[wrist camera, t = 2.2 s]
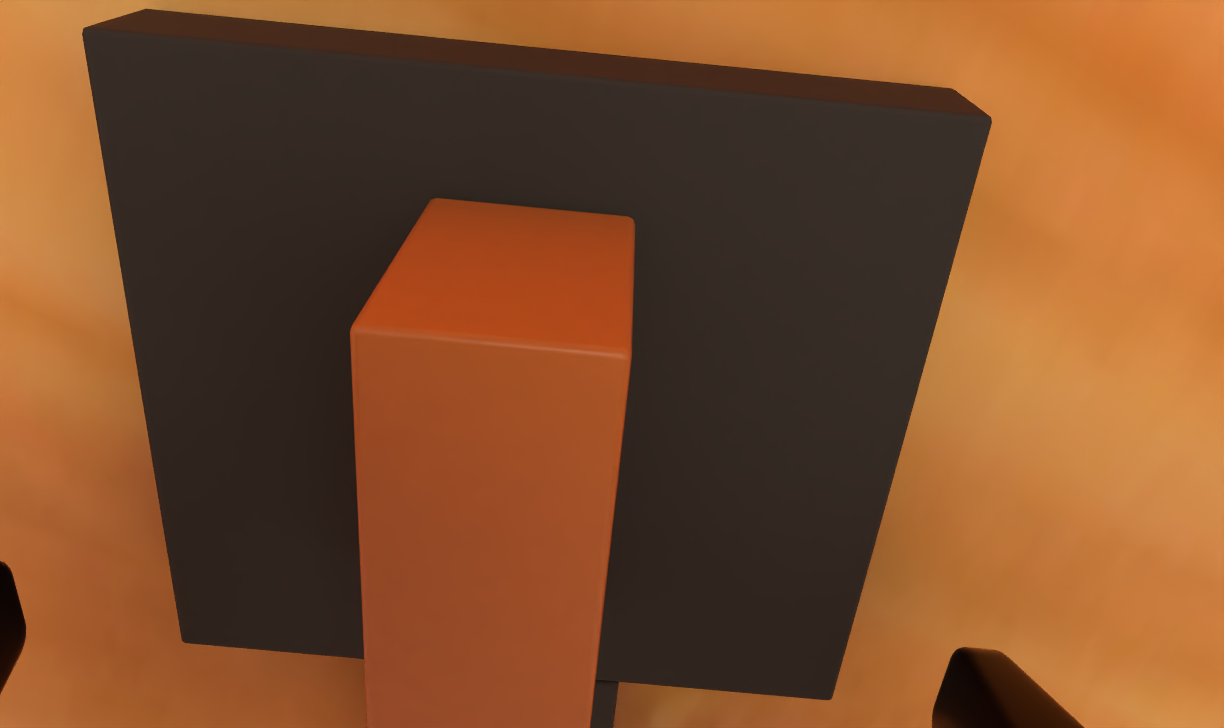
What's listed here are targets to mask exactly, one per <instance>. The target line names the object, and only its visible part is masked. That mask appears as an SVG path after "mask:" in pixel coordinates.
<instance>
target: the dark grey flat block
mask: <svg viewBox="0 0 1224 728" xmlns="http://www.w3.org/2000/svg"><path fill="white" fill-rule="evenodd" d="M82 35H83V41H84V47H85V53H86V60H87V66H88V72H89V78H90V84H91V90H92V96H93V102H94V108H95V114H96V120H97V127H98V133H99V139H100V145H101V151H102V157H103V163H104V169H105V175H106V181H107V187H108V194H109V200H110V206H111V212H112V218H113V224H114V230H115V236H116V242H117V248H118V254H119V260H120V267H121V273H122V279H123V285H124V291H125V297H126V303H127V309H128V315H129V321H130V327H131V334H132V340H133V346H134V352H135V358H136V364H137V370H138V376H139V382H140V388H141V394H142V401H143V407H144V413H145V419H146V425H147V431H148V437H149V443H150V449H151V455H152V461H153V468H154V474H155V480H156V486H157V492H158V498H159V504H160V510H161V516H162V522H163V528H164V534H165V541H166V547H167V553H168V559H169V565H170V571H171V577H172V583H173V589H174V595H175V601H176V608H177V614H178V620H179V626H180V632H181V638H182V641H183V642H185V643H191V644H202V645H213V646H224V647H236V648H247V649H258V650H269V651H280V652H292V653H303V654H314V655H325V656H337V657H348V658H359V659H364V663H365V686H366V708H367V728H613V723H614V715H615V708H616V700H617V692H618V684H619V682H629V683H640V684H651V685H663V686H674V687H685V688H696V689H708V690H719V691H730V692H741V693H753V694H764V695H775V696H786V697H798V698H809V699H820V700H831V699H832V696H833V693H834V689H835V686H836V682H837V679H838V675H839V671H840V668H841V664H842V661H843V657H844V653H845V650H846V646H847V642H848V639H849V635H850V632H851V628H852V624H853V621H854V617H855V614H856V610H857V606H858V603H859V599H860V596H861V592H862V588H863V585H864V581H865V578H866V574H867V570H868V567H869V563H870V560H871V556H872V552H873V549H874V545H875V542H876V538H877V534H878V531H879V527H880V523H881V520H882V516H883V513H884V509H885V505H886V502H887V498H888V495H889V491H890V487H891V484H892V480H893V477H894V473H895V469H896V466H897V462H898V459H899V455H900V451H901V448H902V444H903V441H904V437H905V433H906V430H907V426H908V422H909V419H910V415H911V412H912V408H913V404H914V401H915V397H916V394H917V390H918V386H919V383H920V379H921V376H922V372H923V368H924V365H925V361H926V358H927V354H928V350H929V347H930V343H931V340H932V336H933V332H934V329H935V325H936V322H937V318H938V314H939V311H940V307H941V303H942V300H943V296H944V293H945V289H946V285H947V282H948V278H949V275H950V271H951V267H952V264H953V260H954V257H955V253H956V249H957V246H958V242H959V239H960V235H961V231H962V228H963V224H964V221H965V217H966V213H967V210H968V206H969V203H970V199H971V195H972V192H973V188H974V184H975V181H976V177H977V174H978V170H979V166H980V163H981V159H982V156H983V152H984V148H985V145H986V141H987V138H988V134H989V130H990V127H991V123H992V121H991V117H990V116H989V115H987V114H986V113H985V112H983V111H982V110H981V109H979V108H978V107H977V106H975V105H974V104H973V103H971V102H970V101H969V100H967V99H966V98H965V97H963V96H962V95H961V94H959V93H958V92H957V91H955V90H953V89H951V88H941V87H930V86H920V85H910V84H900V83H890V82H880V81H870V80H860V79H850V78H839V77H829V76H819V75H809V74H799V73H789V72H779V71H769V70H759V69H748V68H738V67H728V66H718V65H708V64H698V63H688V62H678V61H668V60H657V59H647V58H637V57H627V56H617V55H607V54H597V53H587V52H577V51H566V50H556V49H546V48H536V47H526V46H516V45H506V44H496V43H486V42H476V41H465V40H455V39H445V38H435V37H425V36H415V35H405V34H395V33H385V32H374V31H364V30H354V29H344V28H334V27H324V26H314V25H304V24H294V23H283V22H273V21H263V20H253V19H243V18H233V17H223V16H213V15H203V14H192V13H182V12H172V11H162V10H152V9H144V10H141V11H137V12H134V13H131V14H128V15H124V16H121V17H118V18H114V19H111V20H108V21H105V22H101V23H98V24H95V25H91V26H88V27H85V28H84V29H83V33H82Z"/></svg>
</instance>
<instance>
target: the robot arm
mask: <svg viewBox="0 0 1224 728" xmlns="http://www.w3.org/2000/svg"><path fill="white" fill-rule="evenodd" d="M25 638H26V623H25V619H24V615H23V611H22V608H21V604H20V600H19V596H18V593H17V589H16V585H15V581H14V578H13V574H12V571H11V569H10V568H9V567H8V565H7V564H6V563H4V562H1V561H0V694H1V692H2V690H3V688H4V686H5V684H6V682H7V680H8V678H9V676H10V674H11V672H12V670H13V668H14V666H15V664H16V662H17V660H18V658H19V656H20V654H21V652H22V649H23V646H24V643H25ZM932 728H1084V727H1083V726H1082V725H1081V724H1080V723H1079V722H1078V721H1077V720H1076V719H1075V718H1074V717H1072V716H1071V715H1070V714H1069V713H1068V712H1067V711H1066V710H1065V709H1064V708H1063V707H1062V706H1061V705H1059V704H1058V703H1057V702H1056V701H1055V700H1054V699H1053V698H1052V697H1051V696H1050V695H1049V694H1048V693H1046V692H1045V691H1044V690H1043V689H1042V688H1041V687H1040V686H1039V685H1038V684H1037V683H1036V682H1035V681H1034V680H1032V679H1031V678H1030V677H1029V676H1028V675H1027V674H1026V673H1025V672H1024V671H1023V670H1022V669H1021V668H1019V667H1018V666H1017V665H1016V664H1015V663H1014V662H1013V661H1012V660H1011V659H1010V658H1009V657H1007V656H1006V655H1005V654H1003V653H1002V652H1000V651H996V650H990V649H979V648H968V647H962V648H959V649H957V650H956V651H955V652H954V653H953V655H952V657H951V659H950V661H949V664H948V667H947V670H946V673H945V676H944V679H943V681H942V684H941V687H940V690H939V693H938V696H937V699H936V702H935V705H934V708H933V714H932Z"/></svg>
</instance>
